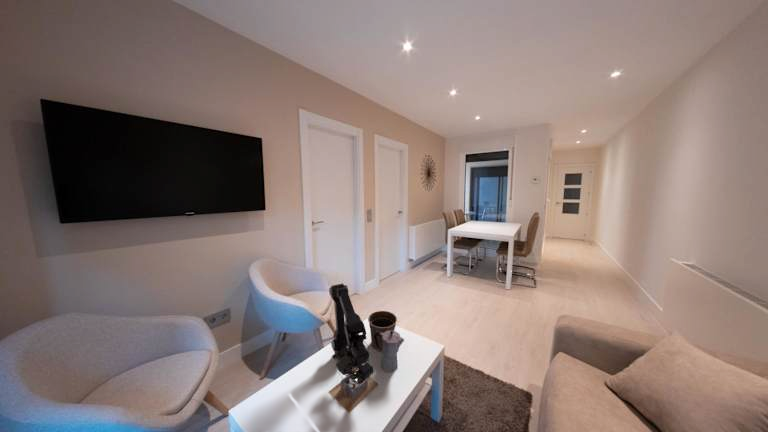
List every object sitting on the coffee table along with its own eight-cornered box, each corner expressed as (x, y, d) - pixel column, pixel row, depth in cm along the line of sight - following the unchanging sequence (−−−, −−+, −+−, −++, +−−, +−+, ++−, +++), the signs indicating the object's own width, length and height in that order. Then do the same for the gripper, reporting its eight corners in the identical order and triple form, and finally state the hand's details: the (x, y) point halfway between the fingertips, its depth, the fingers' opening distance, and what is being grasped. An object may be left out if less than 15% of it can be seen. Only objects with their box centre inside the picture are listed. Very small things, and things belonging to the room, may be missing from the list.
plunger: (344, 387, 104) (344, 373, 103) (354, 378, 108) (354, 365, 107) (353, 395, 100) (353, 381, 99) (363, 386, 104) (363, 372, 103)
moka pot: (402, 377, 111) (403, 339, 108) (370, 371, 114) (371, 335, 111) (404, 362, 120) (405, 327, 117) (375, 357, 123) (375, 323, 120)
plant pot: (370, 333, 142) (371, 309, 140) (397, 336, 140) (398, 311, 137) (365, 352, 126) (365, 326, 124) (394, 356, 124) (395, 329, 122)
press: (338, 390, 103) (338, 382, 102) (355, 376, 110) (355, 369, 109) (351, 402, 98) (351, 394, 97) (367, 387, 105) (367, 379, 104)
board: (328, 393, 102) (328, 391, 102) (358, 368, 116) (358, 367, 116) (349, 415, 93) (349, 413, 93) (379, 385, 107) (379, 384, 106)
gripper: (325, 346, 101) (326, 378, 104) (354, 370, 89) (354, 405, 91) (345, 334, 109) (346, 363, 112) (374, 354, 97) (374, 386, 100)
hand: (354, 378), depth 103 cm, fingers open, 6 cm apart
